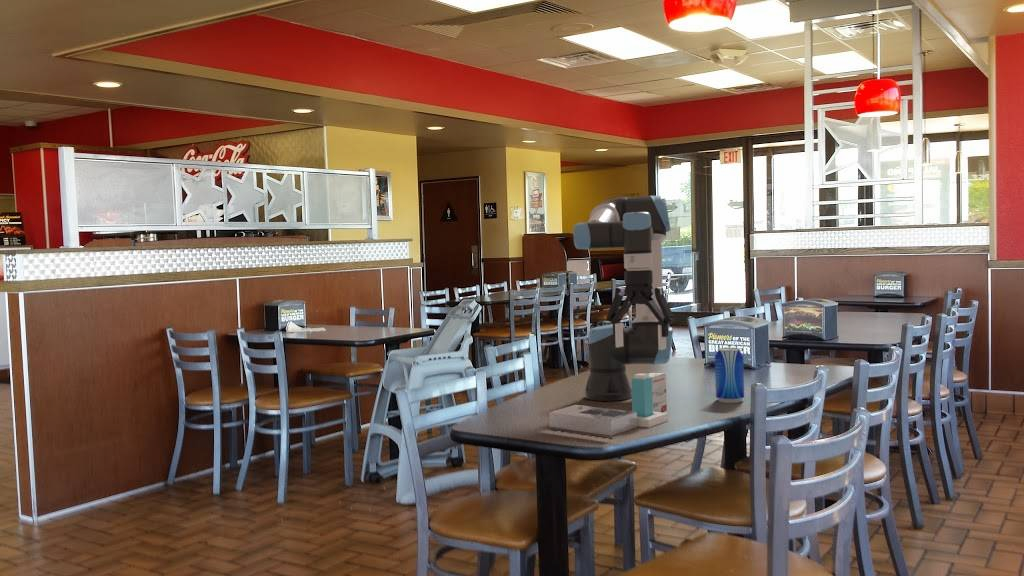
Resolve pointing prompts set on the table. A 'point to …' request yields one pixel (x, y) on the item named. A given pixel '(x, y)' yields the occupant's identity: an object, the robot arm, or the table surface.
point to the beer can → (729, 375)
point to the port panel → (593, 420)
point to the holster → (652, 419)
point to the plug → (642, 395)
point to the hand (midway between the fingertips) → (640, 348)
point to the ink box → (659, 391)
